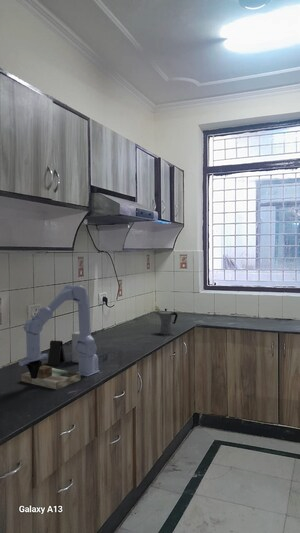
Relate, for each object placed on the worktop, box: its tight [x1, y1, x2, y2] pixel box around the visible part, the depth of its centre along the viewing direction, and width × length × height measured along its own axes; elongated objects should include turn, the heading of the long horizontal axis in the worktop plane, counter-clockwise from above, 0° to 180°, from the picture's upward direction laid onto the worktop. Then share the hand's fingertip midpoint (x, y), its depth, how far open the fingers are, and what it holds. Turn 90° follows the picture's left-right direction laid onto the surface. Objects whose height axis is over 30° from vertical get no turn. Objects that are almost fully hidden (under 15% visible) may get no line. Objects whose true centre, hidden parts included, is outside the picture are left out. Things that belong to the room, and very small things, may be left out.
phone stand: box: [47, 340, 66, 367], centre depth 212 cm, size 9×6×12 cm, turn 166°
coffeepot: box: [156, 308, 179, 336], centre depth 287 cm, size 15×9×18 cm, turn 70°
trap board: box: [20, 367, 82, 390], centre depth 183 cm, size 15×22×3 cm, turn 58°
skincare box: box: [71, 331, 79, 364], centre depth 216 cm, size 8×7×16 cm
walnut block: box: [37, 365, 53, 379], centre depth 180 cm, size 5×5×4 cm
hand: (34, 378), depth 174 cm, fingers closed
